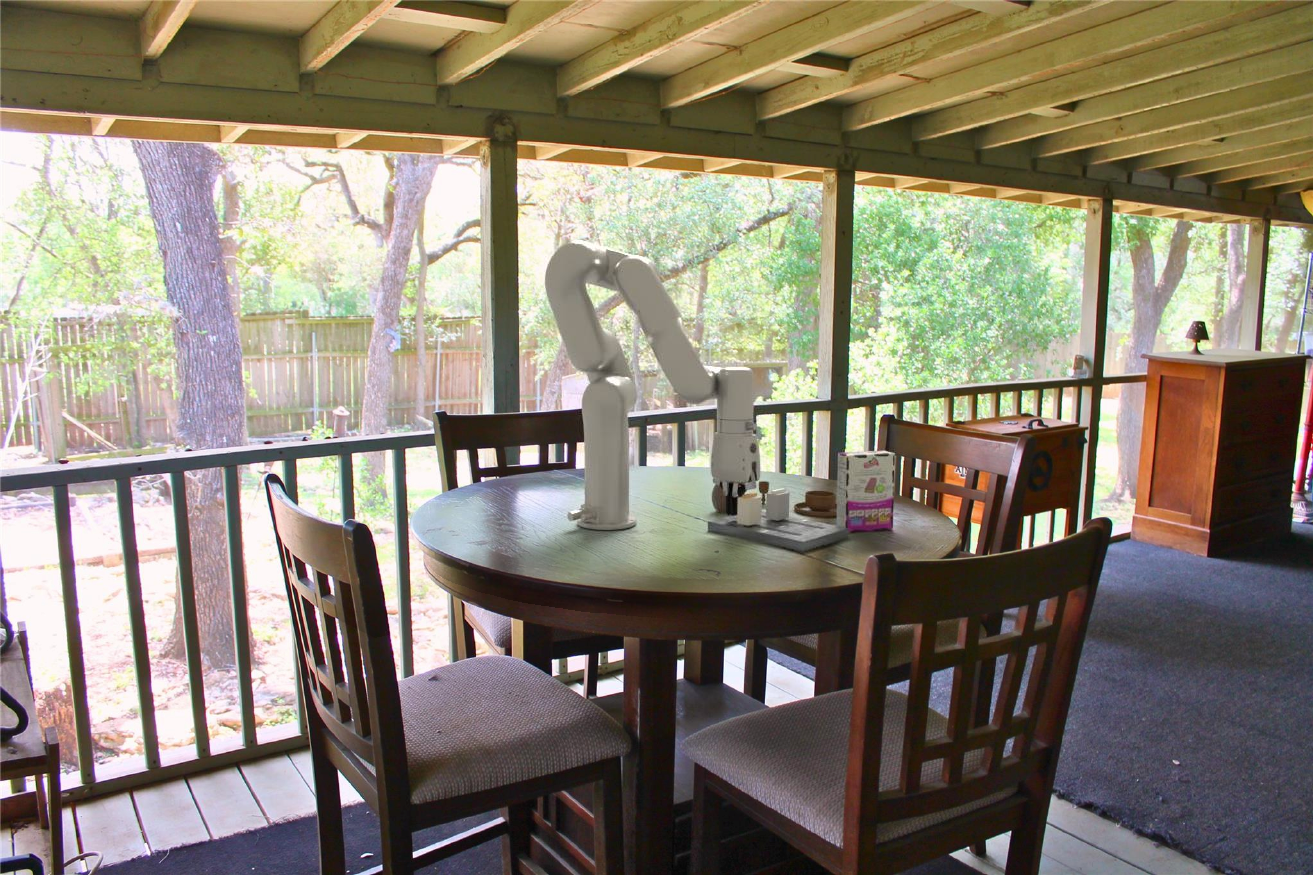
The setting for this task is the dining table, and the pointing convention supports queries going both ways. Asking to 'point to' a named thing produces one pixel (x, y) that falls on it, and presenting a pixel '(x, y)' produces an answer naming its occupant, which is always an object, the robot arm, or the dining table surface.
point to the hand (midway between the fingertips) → (733, 514)
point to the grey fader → (777, 504)
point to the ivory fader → (749, 509)
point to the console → (782, 532)
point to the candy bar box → (865, 490)
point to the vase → (719, 499)
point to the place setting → (809, 502)
